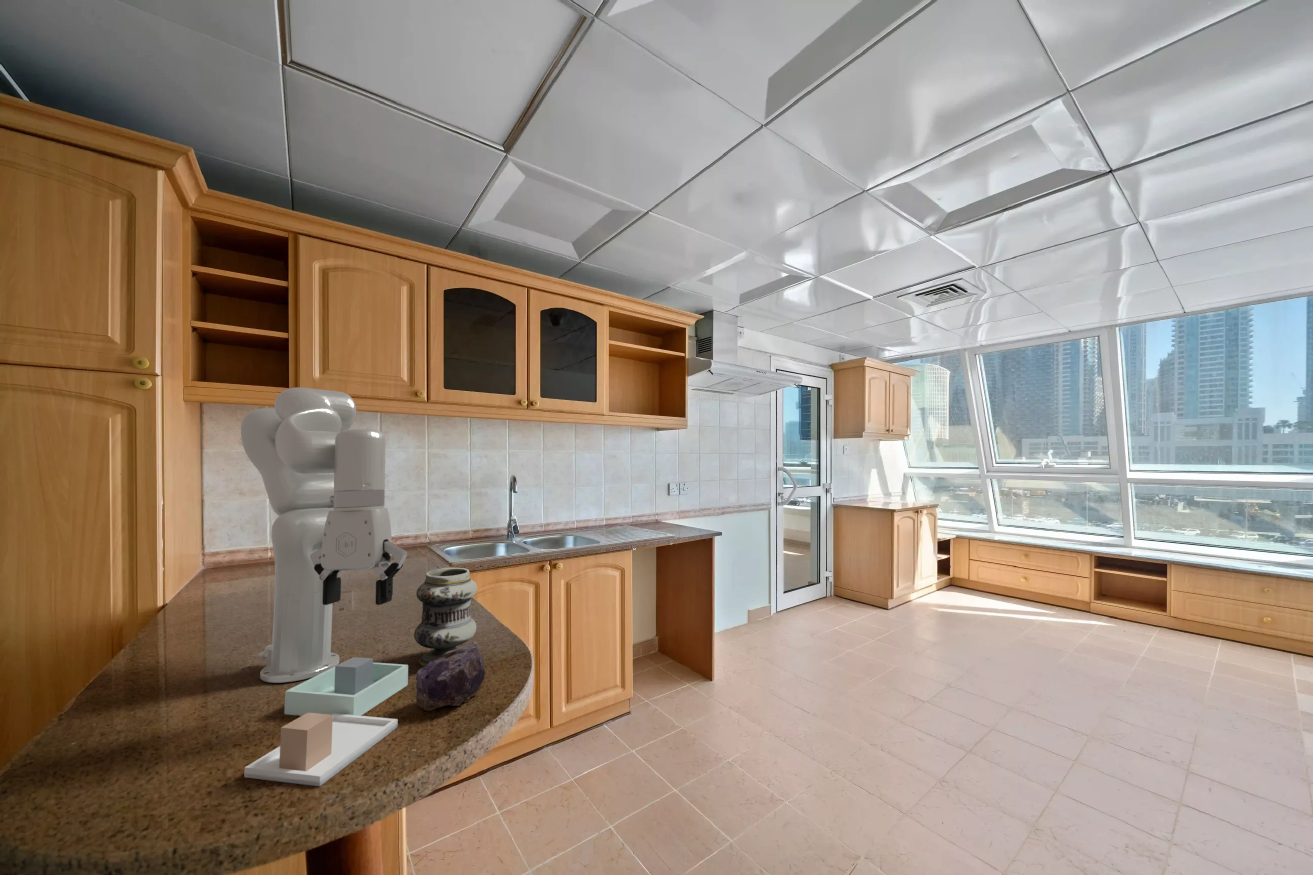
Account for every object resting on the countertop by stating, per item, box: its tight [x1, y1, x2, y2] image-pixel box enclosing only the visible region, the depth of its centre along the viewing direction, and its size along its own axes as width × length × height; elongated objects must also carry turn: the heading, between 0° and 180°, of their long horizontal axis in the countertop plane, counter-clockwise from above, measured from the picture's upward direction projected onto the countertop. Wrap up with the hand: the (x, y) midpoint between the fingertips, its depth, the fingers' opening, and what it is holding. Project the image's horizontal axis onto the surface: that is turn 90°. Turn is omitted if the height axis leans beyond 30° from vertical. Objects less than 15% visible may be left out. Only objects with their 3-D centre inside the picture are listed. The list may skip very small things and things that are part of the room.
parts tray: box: [243, 713, 399, 787], centre depth 68 cm, size 11×14×1 cm
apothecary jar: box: [413, 567, 478, 667], centre depth 102 cm, size 12×12×18 cm
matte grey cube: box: [334, 656, 374, 695], centre depth 84 cm, size 4×4×5 cm
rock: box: [415, 641, 486, 711], centre depth 83 cm, size 12×9×10 cm
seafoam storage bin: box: [283, 661, 409, 717], centre depth 83 cm, size 13×13×4 cm
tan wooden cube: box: [279, 713, 333, 771], centre depth 65 cm, size 4×4×5 cm
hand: (357, 602), depth 81 cm, fingers open, 9 cm apart
